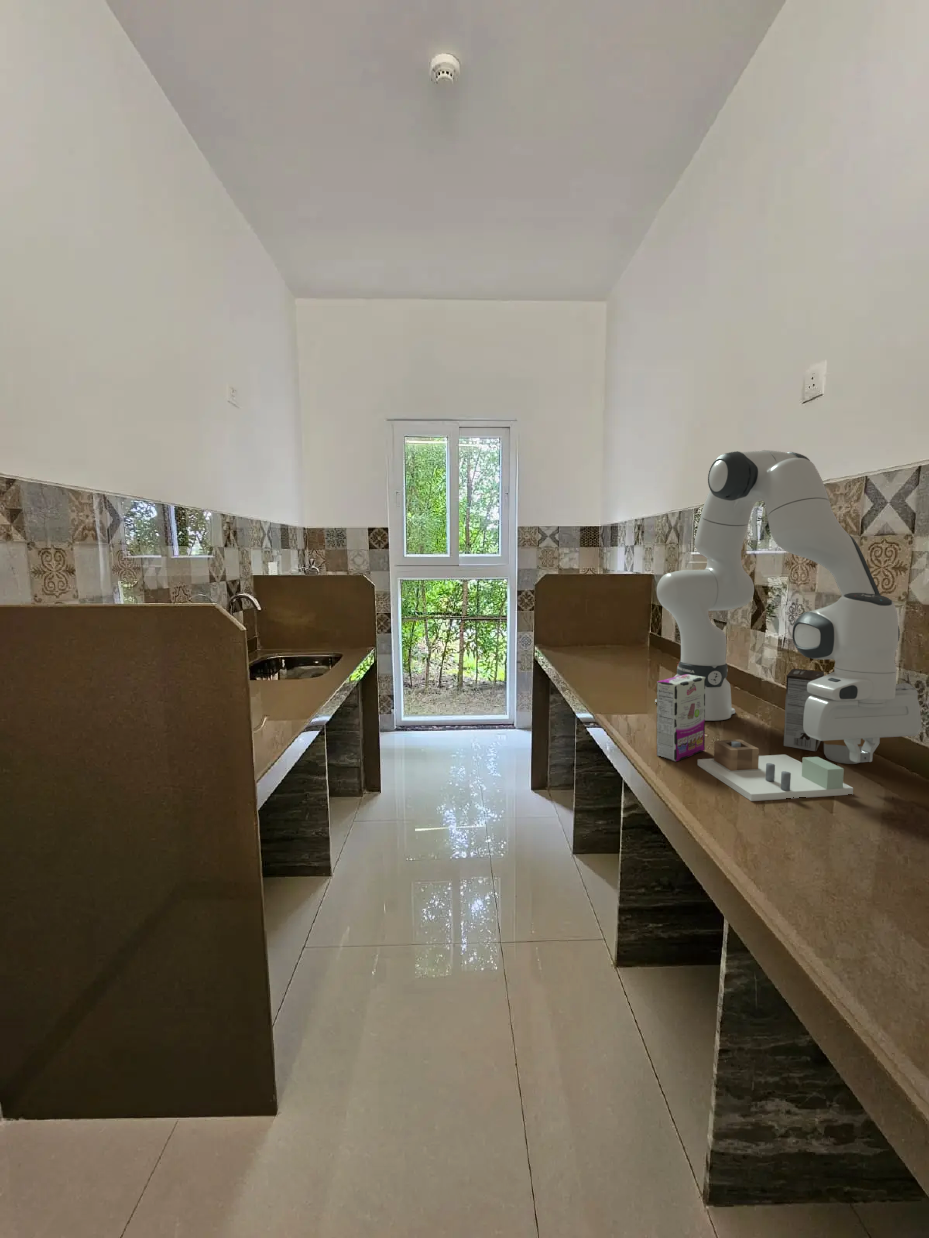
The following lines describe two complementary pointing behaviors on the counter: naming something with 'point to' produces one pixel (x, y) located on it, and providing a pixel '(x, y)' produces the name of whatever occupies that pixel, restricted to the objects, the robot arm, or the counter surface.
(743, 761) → the wooden square block
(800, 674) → the coffee box
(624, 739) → the counter surface
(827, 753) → the coffee cup
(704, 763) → the base plate
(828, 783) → the block
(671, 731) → the candy bar box
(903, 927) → the counter surface
